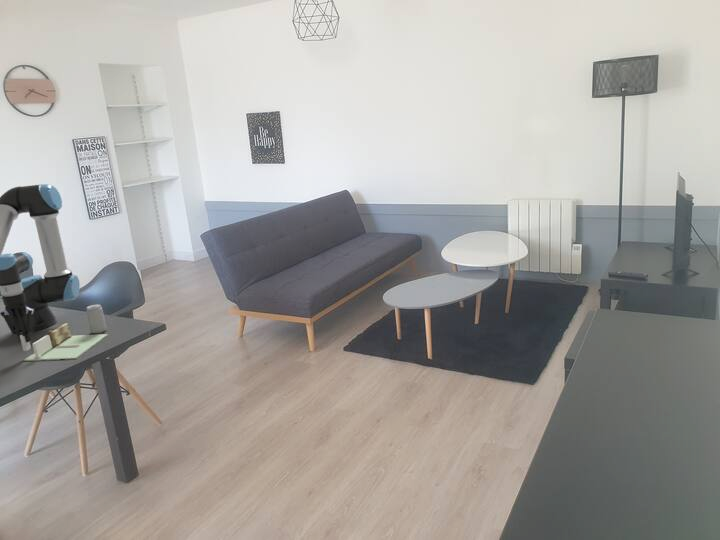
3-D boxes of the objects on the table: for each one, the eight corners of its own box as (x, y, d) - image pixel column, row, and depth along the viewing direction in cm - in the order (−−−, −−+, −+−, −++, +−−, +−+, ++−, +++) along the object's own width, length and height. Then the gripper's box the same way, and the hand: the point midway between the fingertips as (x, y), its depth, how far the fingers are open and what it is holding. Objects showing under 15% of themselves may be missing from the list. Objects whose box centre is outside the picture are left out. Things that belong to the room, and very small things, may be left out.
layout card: (60, 337, 244) (60, 336, 244) (108, 335, 242) (107, 333, 241) (24, 361, 221) (23, 359, 221) (76, 359, 219) (76, 357, 218)
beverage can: (90, 335, 243) (85, 309, 240) (91, 330, 249) (86, 305, 246) (106, 332, 245) (101, 306, 242) (107, 327, 251) (101, 302, 248)
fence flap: (48, 348, 230) (45, 335, 228) (53, 348, 230) (50, 334, 228) (34, 357, 221) (30, 343, 220) (40, 357, 221) (36, 343, 219)
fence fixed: (67, 338, 243) (63, 320, 240) (72, 337, 242) (68, 320, 240) (50, 349, 231) (45, 331, 229) (55, 349, 230) (50, 331, 228)
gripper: (-10, 297, 214) (5, 354, 220) (22, 295, 213) (37, 352, 219) (3, 291, 221) (18, 346, 227) (34, 289, 220) (48, 344, 226)
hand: (27, 349), depth 223 cm, fingers closed
